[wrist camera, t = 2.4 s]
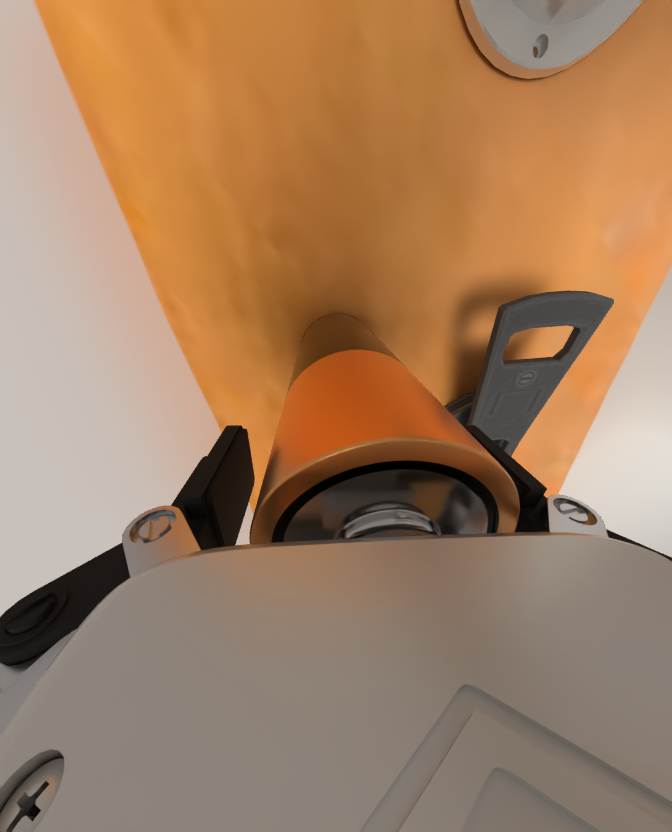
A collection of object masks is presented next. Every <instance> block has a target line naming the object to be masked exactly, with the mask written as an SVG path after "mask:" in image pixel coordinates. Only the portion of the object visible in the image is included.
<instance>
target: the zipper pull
mask: <svg viewBox="0 0 672 832" xmlns="http://www.w3.org/2000/svg"><path fill="white" fill-rule="evenodd" d="M613 304H614V300H613V299H611V298H608V297H605V296H602V295H598V294H595V293H591V292H587V291H556V292H546V293H540V294H535V295H529V296H526V297H523V298H520V299H517V300H514V301H511V302H508V303H505V304H503V305H501V306H500V307H499V308H498V312H497V315H496V319H495V323H494V326H493V330H492V334H491V337H490V341H489V345H488V348H487V352H486V356H485V360H484V365H483V368H482V372H481V376H480V380H479V383H478V387H477V391H476V393H469V394H466V395H464V396H462V397H461V398H459V399H457V400H455V401H453V402H451V403H450V404H448V405H446V406H445V408H446V409H447V410H448V411H449V412H450V413H451V414H452V415H453V416H454V417H455V418H456V419H457V420H458V422H459V423H460V424H461V425H475V426H477V427H478V428H479V429H480V430H481V431H482V432H483V433H485V434H486V435H487V436H488V437H489V438H490V439H491V440H492V441H494V442H495V443H496V444H497V445H498V446H499V447H500V448H502V449H503V450H504V451H505V452H506V453H507V454H508V455H509V456H512V454H513V452H514V451H515V449H516V447H517V446H518V444H519V442H520V440H521V439H522V437H523V436H524V434H525V433H526V431H527V430H528V429H529V427H530V426H531V424H532V423H533V421H534V420H535V418H536V417H537V415H538V414H539V412H540V411H541V409H542V408H543V406H544V405H545V403H546V402H547V401H548V399H549V398H550V396H551V395H552V393H553V392H554V390H555V389H556V387H557V386H558V384H559V383H560V381H561V380H562V378H563V377H564V375H565V374H566V373H567V371H568V370H569V368H570V367H571V365H572V364H573V362H574V361H575V360H576V358H577V357H578V355H579V354H580V353H581V351H582V350H583V348H584V347H585V345H586V344H587V342H588V341H589V339H590V338H591V336H592V335H593V333H594V332H595V330H596V329H597V327H598V326H599V324H600V323H601V321H602V320H603V318H604V317H605V316H606V314H607V313H608V311H609V310H610V308H611V307H612V305H613ZM566 325H568V326H573V328H574V329H573V331H572V333H571V334H570V336H569V338H568V340H567V342H566V344H565V345H564V347H563V349H561V350H560V351H559V352H558V353H557V354H556V355H554V356H553V357H546V358H533V359H520V360H508V361H503V359H502V357H503V354H504V352H505V349H506V347H507V344H508V342H509V339H510V337H511V336H512V335H513V334H514V333H517V332H520V331H523V330H527V329H530V328H540V327H553V326H566Z"/></svg>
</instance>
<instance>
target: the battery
mask: <svg viewBox="0 0 672 832" xmlns="http://www.w3.org/2000/svg"><path fill="white" fill-rule="evenodd" d="M519 513H520V503H519V496H518V492H517V489H516V486H515V484H514V482H513V480H512V479H511V477H510V476H509V474H508V473H507V472H506V471H505V469H504V468H503V467H502V466H501V465H500V464H499V463H498V462H497V461H496V460H495V459H494V458H493V457H492V456H491V455H490V454H489V453H488V451H487V450H486V449H485V448H484V447H483V446H482V445H481V444H480V443H479V442H478V441H477V440H476V439H475V438H474V437H473V436H472V435H471V434H470V433H469V432H468V431H467V430H466V429H465V428H464V427H463V426H462V425H461V424H460V423H459V422H458V420H457V419H456V418H455V417H454V416H453V415H452V414H451V413H450V412H449V411H448V410H447V409H446V408H445V407H444V406H443V405H442V404H441V403H440V402H439V401H438V400H437V399H436V398H435V397H434V396H433V395H432V394H431V393H430V392H429V391H428V390H427V388H426V387H425V386H424V385H423V384H422V383H421V382H420V381H419V380H418V379H417V378H416V377H415V376H414V375H413V374H412V373H411V372H410V371H409V370H408V369H407V368H406V367H405V366H404V365H403V364H402V363H401V362H400V361H399V360H398V359H397V358H396V356H395V355H394V354H393V353H392V352H391V351H390V350H389V349H388V348H387V347H386V346H385V345H384V344H383V343H382V342H381V341H380V340H379V339H378V338H377V337H376V336H375V335H374V334H373V333H372V332H371V331H370V330H369V329H368V328H367V327H366V326H365V325H364V324H363V323H362V322H361V321H360V320H358V319H357V318H355V317H353V316H350V315H346V314H330V315H326V316H324V317H321V318H320V319H318V320H316V321H315V322H314V323H313V324H312V325H311V326H310V327H309V328H308V329H307V331H306V332H305V334H304V336H303V339H302V342H301V345H300V349H299V352H298V356H297V359H296V363H295V367H294V370H293V374H292V378H291V381H290V385H289V388H288V392H287V396H286V399H285V403H284V407H283V410H282V414H281V418H280V421H279V425H278V428H277V432H276V436H275V439H274V443H273V447H272V450H271V454H270V458H269V461H268V465H267V468H266V472H265V476H264V479H263V483H262V487H261V490H260V494H259V498H258V501H257V505H256V509H255V512H254V516H253V520H252V524H251V529H250V544H262V543H278V542H294V541H316V540H337V539H358V538H381V537H404V536H429V535H455V534H483V533H514V532H515V529H516V526H517V523H518V519H519Z"/></svg>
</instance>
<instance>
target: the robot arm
mask: <svg viewBox="0 0 672 832" xmlns="http://www.w3.org/2000/svg"><path fill="white" fill-rule="evenodd" d="M642 1H643V0H459V3H460V6H461V9H462V12H463V15H464V18H465V21H466V24H467V27H468V30H469V32H470V34H471V35H472V37H473V39H474V41H475V43H476V44H477V46H478V48H479V50H480V51H481V52H482V54H483V55H484V56H485V57H486V58H487V59H488V60H489V61H490V62H491V63H492V64H493V65H494V66H495V67H496V68H498V69H500V70H502V71H503V72H505V73H507V74H509V75H510V76H515V77H520V78H525V79H533V78H541V77H548V76H550V75H553V74H555V73H558V72H560V71H563V70H566V69H567V68H569V67H571V66H572V65H574V64H575V63H577V62H578V61H580V60H581V59H583V58H584V57H586V56H587V55H588V54H590V53H591V52H592V51H593V50H594V49H595V48H597V47H598V46H599V45H600V44H601V43H603V42H604V41H605V40H606V39H608V38H609V37H610V36H611V35H612V34H613V33H614V32H615V31H616V30H617V29H618V28H619V27H620V26H621V25H622V24H623V23H624V22H625V21H626V20H627V19H628V18H629V16H630V15H631V14H632V13H633V12H634V11H635V10H636V8H637V7H638V6H639V5H640V3H641V2H642ZM462 426H463V427H464V428H465V429H466V430H467V431H468V432H469V433H470V434H471V435H472V436H473V437H474V438H475V439H476V440H477V441H478V442H479V443H480V444H481V445H482V446H483V447H484V448H485V449H486V450H487V451H488V453H489V454H490V455H491V456H492V457H493V458H494V459H495V460H496V461H497V462H498V463H499V464H500V465H501V466H502V467H503V468H504V469H505V471H506V472H507V473H508V474H509V476H510V477H511V479H512V480H513V482H514V484H515V486H516V489H517V492H518V496H519V503H520V513H519V519H518V523H517V526H516V529H515V532H514V533H483V534H455V535H429V536H404V537H381V538H358V539H337V540H316V541H294V542H278V543H262V544H247V545H236V546H235V544H236V540H237V538H238V534H239V531H240V528H241V525H242V522H243V518H244V515H245V512H246V508H247V505H248V502H249V499H250V496H251V493H252V489H253V486H254V480H255V478H254V471H253V464H252V458H251V452H250V445H249V439H248V432H247V429H243V428H242V426H226V428H225V429H224V431H223V432H222V434H221V436H220V437H219V439H218V440H217V442H216V443H215V445H214V446H213V448H212V450H211V451H210V453H209V454H208V456H205V457H203V458H202V459H201V461H200V462H199V464H198V465H197V467H196V468H195V470H194V471H193V473H192V474H191V476H190V477H189V479H188V480H187V482H186V484H185V485H184V486H183V488H182V489H181V491H180V493H179V494H178V496H177V497H176V499H175V500H174V502H173V503H172V505H171V506H160V507H156V508H153V509H151V510H148V511H146V512H144V513H143V514H141V515H139V516H138V517H137V518H135V519H134V520H133V521H132V522H131V523H130V524H129V525H128V526H127V527H126V529H125V531H124V533H123V535H122V543H121V544H119V545H117V546H115V547H114V548H112V549H110V550H108V551H106V552H104V553H103V554H101V555H99V556H97V557H95V558H93V559H92V560H90V561H88V562H86V563H85V564H83V565H81V566H79V567H77V568H75V569H73V570H72V571H70V572H68V573H66V574H65V575H63V576H61V577H59V578H57V579H56V580H54V581H52V582H50V583H48V584H47V585H44V586H43V587H41V588H39V589H37V590H35V591H34V592H32V593H30V594H29V595H27V596H26V597H24V598H22V599H21V600H19V601H18V602H17V603H15V605H13V606H12V607H11V608H9V609H8V610H7V611H6V612H5V613H4V614H3V615H2V616H1V617H0V832H672V558H671V557H669V556H667V555H664V554H662V553H660V552H657V551H655V550H653V549H650V548H648V547H646V546H644V545H641V544H639V543H636V542H634V541H632V540H630V539H627V538H625V537H623V536H620V535H618V534H616V533H613V532H611V531H609V530H607V529H606V528H605V525H604V522H603V520H602V518H601V517H600V516H599V515H598V514H597V513H596V512H595V511H594V510H593V509H591V508H590V507H589V506H587V505H585V504H583V503H582V502H580V501H578V500H576V499H573V498H571V497H568V496H564V495H551V496H549V497H548V499H547V498H546V497H545V496H544V493H545V491H546V490H547V488H546V487H545V486H544V485H542V484H541V483H540V482H539V481H538V480H537V479H536V478H534V477H533V476H532V475H531V474H530V473H529V472H528V471H527V470H525V469H524V468H523V467H522V466H521V465H520V464H519V463H517V462H516V461H515V460H514V459H513V458H512V457H511V456H509V455H508V454H507V453H506V452H505V451H504V450H503V449H502V448H500V447H499V446H498V445H497V444H496V443H495V442H494V441H492V440H491V439H490V438H489V437H488V436H487V435H486V434H485V433H483V432H482V431H481V430H480V429H479V428H478V427H477V426H475V425H462Z"/></svg>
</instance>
